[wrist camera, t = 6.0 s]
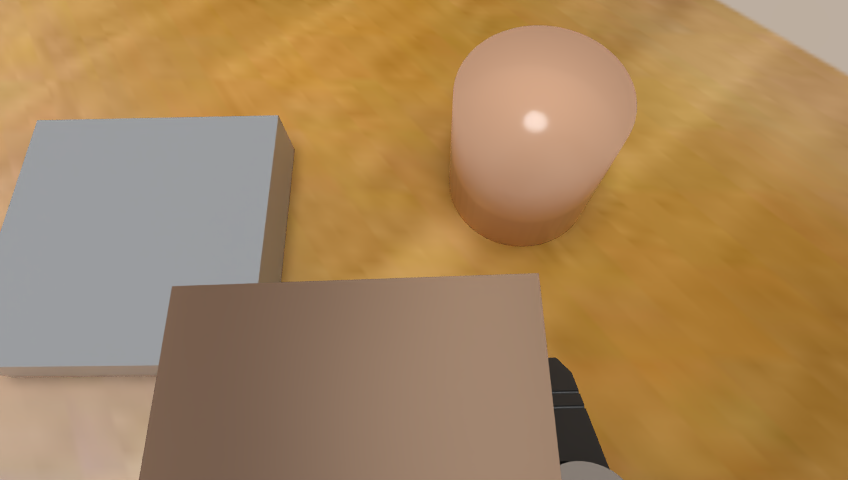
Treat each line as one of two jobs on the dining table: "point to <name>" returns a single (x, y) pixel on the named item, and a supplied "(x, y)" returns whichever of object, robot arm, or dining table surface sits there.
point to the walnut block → (354, 382)
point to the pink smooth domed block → (535, 131)
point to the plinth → (133, 234)
